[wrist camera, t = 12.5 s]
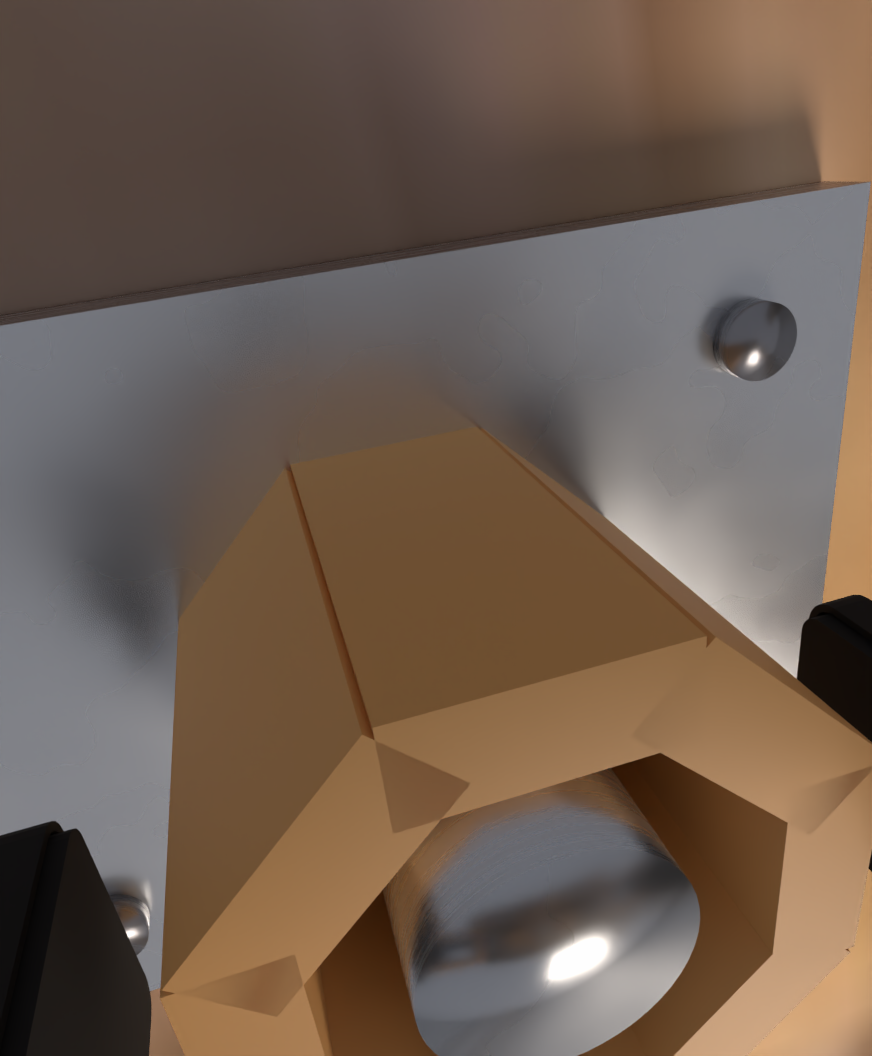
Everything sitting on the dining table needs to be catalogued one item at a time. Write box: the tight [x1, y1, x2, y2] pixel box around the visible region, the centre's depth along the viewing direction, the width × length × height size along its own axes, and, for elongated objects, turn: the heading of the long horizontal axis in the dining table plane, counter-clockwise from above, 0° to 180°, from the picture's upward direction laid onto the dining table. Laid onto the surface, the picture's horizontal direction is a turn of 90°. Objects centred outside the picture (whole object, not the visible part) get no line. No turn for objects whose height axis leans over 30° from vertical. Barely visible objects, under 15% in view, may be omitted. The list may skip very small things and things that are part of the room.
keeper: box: [0, 181, 871, 1056], centre depth 11 cm, size 16×12×7 cm
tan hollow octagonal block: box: [160, 427, 872, 1056], centre depth 10 cm, size 7×7×6 cm
